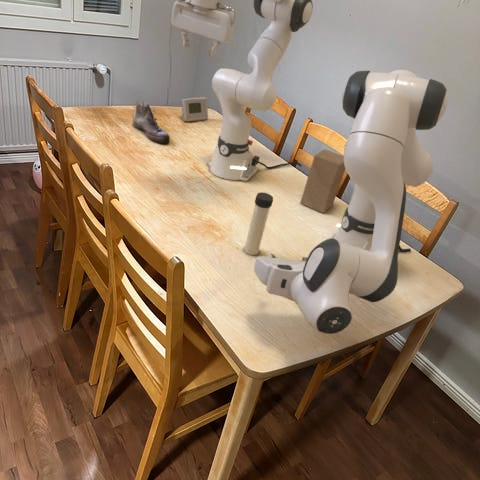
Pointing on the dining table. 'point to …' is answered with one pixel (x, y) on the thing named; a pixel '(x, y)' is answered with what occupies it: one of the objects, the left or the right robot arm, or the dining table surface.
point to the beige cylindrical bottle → (256, 230)
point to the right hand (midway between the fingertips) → (287, 258)
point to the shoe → (149, 124)
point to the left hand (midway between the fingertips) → (198, 51)
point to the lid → (264, 200)
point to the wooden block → (323, 180)
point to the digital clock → (194, 109)
